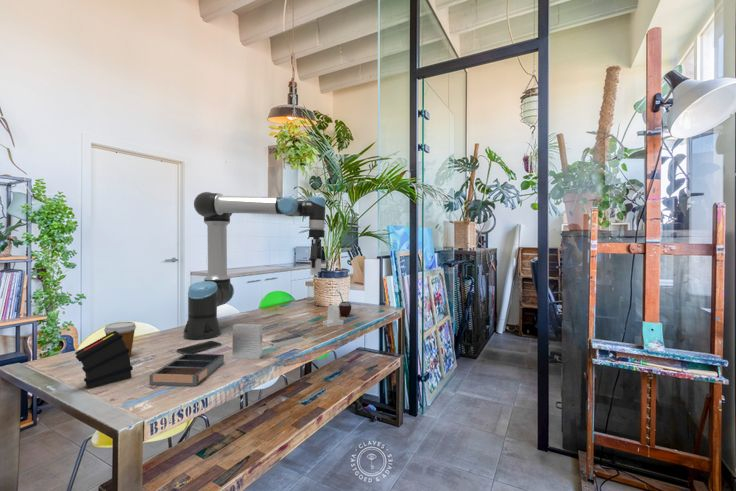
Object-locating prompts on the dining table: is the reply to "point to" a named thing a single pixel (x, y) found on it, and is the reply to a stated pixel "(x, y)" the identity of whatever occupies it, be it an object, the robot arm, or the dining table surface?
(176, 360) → the slot rack
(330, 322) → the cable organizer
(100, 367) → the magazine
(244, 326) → the panel
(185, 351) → the phone
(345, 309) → the mate gourd
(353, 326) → the dining table surface
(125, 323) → the disposable coffee cup
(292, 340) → the multiport hub
